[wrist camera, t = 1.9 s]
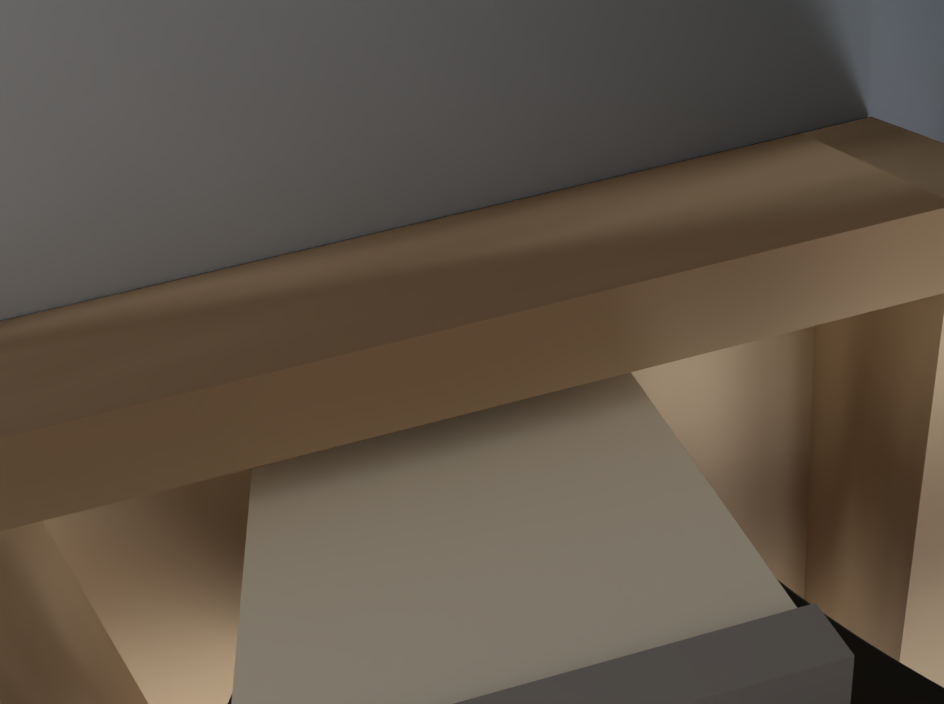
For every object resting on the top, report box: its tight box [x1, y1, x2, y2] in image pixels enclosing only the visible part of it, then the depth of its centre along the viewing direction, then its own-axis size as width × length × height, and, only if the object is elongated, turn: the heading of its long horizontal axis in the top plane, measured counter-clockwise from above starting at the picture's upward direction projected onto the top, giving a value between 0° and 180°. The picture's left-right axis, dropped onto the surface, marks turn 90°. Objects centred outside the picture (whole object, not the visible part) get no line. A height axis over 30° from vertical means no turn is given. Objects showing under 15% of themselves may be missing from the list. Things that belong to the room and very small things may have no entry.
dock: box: [0, 117, 944, 704], centre depth 12 cm, size 10×13×3 cm
